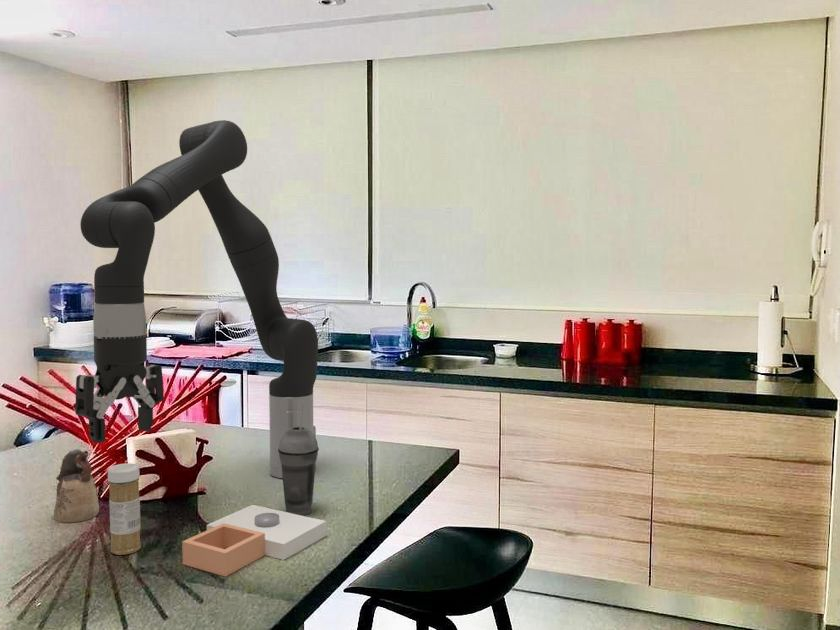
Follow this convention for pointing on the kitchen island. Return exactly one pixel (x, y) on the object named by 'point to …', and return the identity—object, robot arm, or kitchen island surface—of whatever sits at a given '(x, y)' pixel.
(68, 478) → the figurine
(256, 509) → the white knobbed panel
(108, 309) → the robot arm
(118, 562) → the kitchen island surface
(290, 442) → the beverage cup
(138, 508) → the sprinkles bottle
